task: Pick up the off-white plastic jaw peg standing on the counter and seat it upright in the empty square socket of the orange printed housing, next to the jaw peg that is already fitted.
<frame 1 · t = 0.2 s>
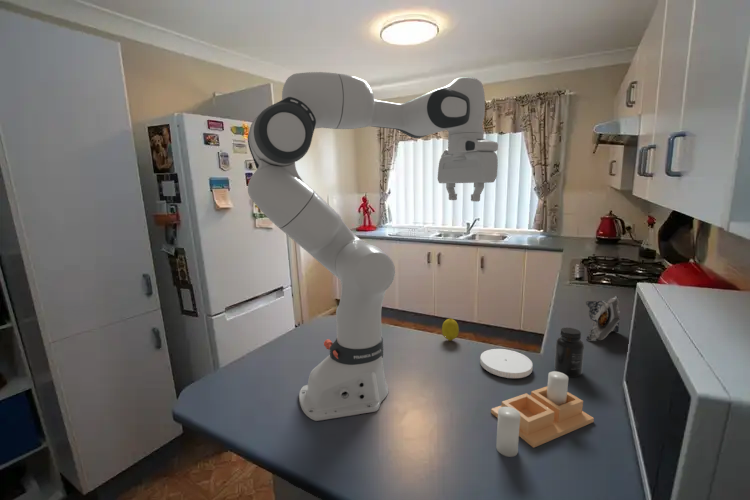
hand: (463, 200, 92), 48 cm above the countertop, fingers open, 8 cm apart
jaw peg: (506, 449, 69), on the countertop
lemon: (449, 341, 117), on the countertop
housing: (541, 417, 78), on the countertop
supplement bottle: (567, 371, 97), on the countertop
ornate grey picture frame: (600, 336, 119), on the countertop
plastic lid: (505, 368, 100), on the countertop
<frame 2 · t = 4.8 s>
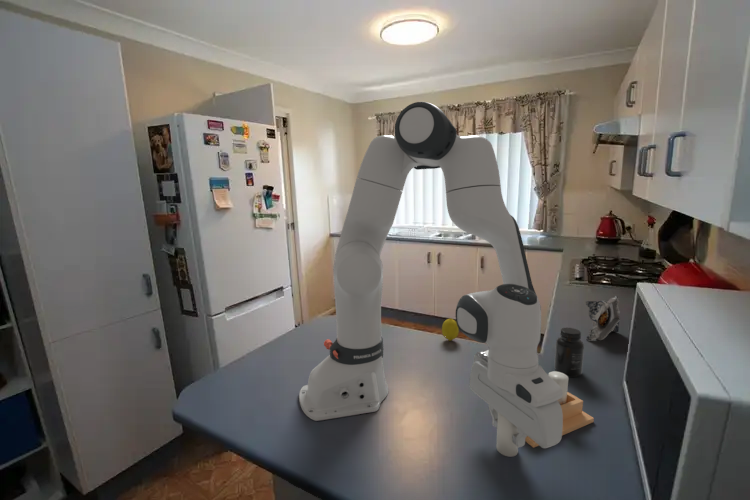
hand: (507, 435, 68), 3 cm above the countertop, fingers closed on jaw peg, 4 cm apart
jaw peg: (506, 449, 69), on the countertop, touching gripper
everything else where it was.
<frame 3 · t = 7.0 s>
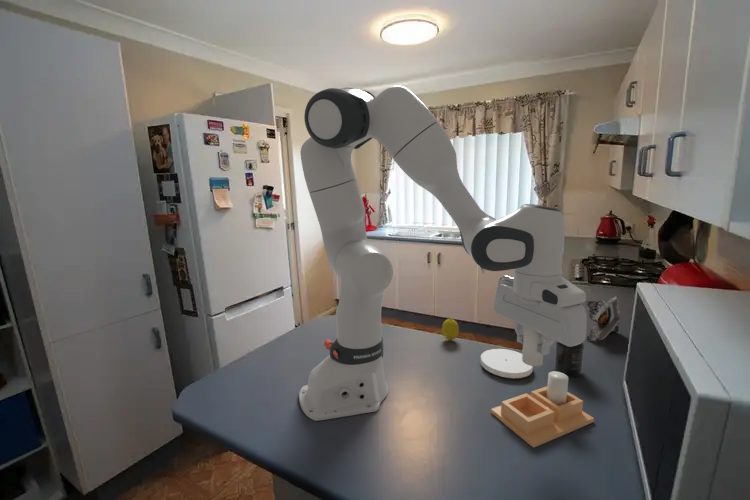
hand: (532, 348, 73), 18 cm above the countertop, fingers closed on jaw peg, 4 cm apart
jaw peg: (532, 361, 74), point 15 cm above the countertop, touching gripper
everything else where it was.
when the fingers open (6 cm above the countertop, at t = 9.4 s): jaw peg drops 1 cm, resting on housing.
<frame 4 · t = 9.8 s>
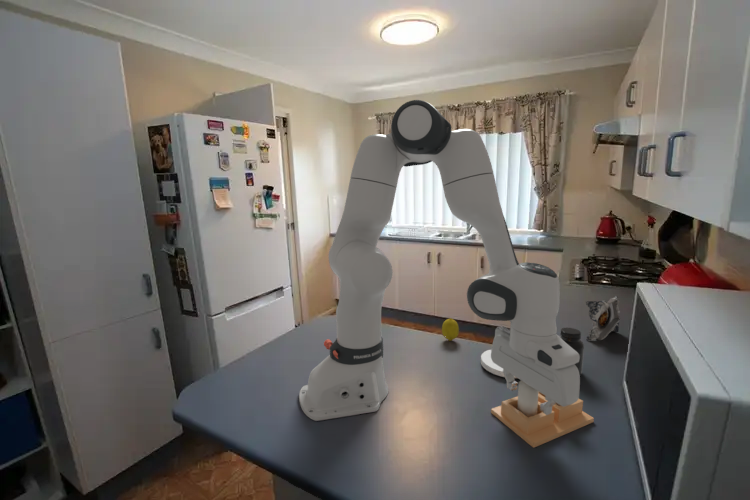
hand: (527, 400, 75), 6 cm above the countertop, fingers open, 8 cm apart
jaw peg: (526, 418, 76), point 1 cm above the countertop, touching housing
everything else where it was.
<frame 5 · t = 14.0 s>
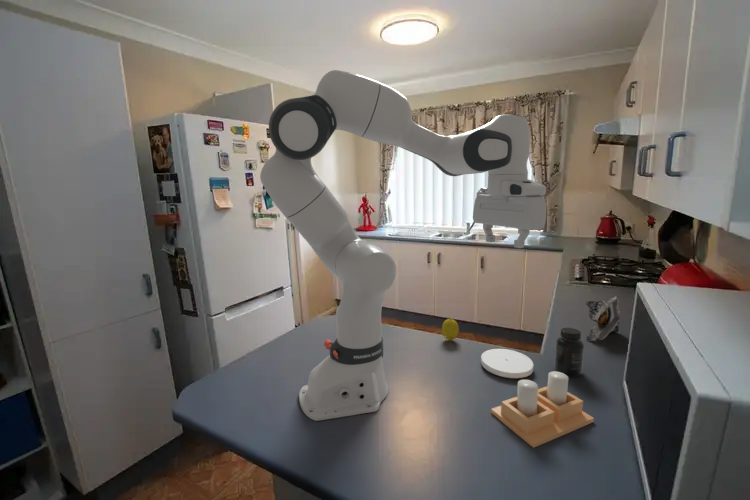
hand: (503, 244, 85), 37 cm above the countertop, fingers open, 8 cm apart
nothing on the countertop moved.
at the end: jaw peg 0.2 cm from the target spot on the housing, point 1.1 cm above the housing's base; jaw peg tilted 2°; the gripper is holding nothing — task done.
